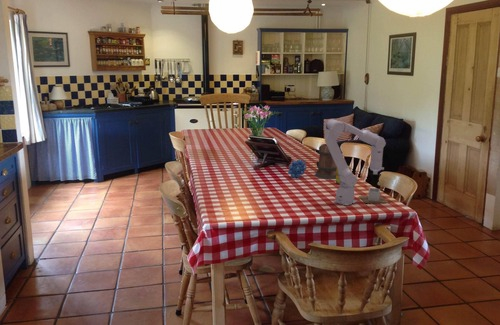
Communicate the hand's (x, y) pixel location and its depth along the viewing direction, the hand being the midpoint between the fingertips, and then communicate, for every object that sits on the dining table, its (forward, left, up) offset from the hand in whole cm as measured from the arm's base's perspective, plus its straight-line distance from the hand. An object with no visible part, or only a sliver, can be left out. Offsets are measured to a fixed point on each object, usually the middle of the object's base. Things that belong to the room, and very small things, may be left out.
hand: (374, 184), depth 237 cm
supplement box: (+15, +30, -9) cm, 35 cm away
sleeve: (0, 0, -8) cm, 8 cm away
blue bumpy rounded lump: (+6, +58, -9) cm, 59 cm away
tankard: (+25, +50, -9) cm, 57 cm away
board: (0, 0, -9) cm, 9 cm away
